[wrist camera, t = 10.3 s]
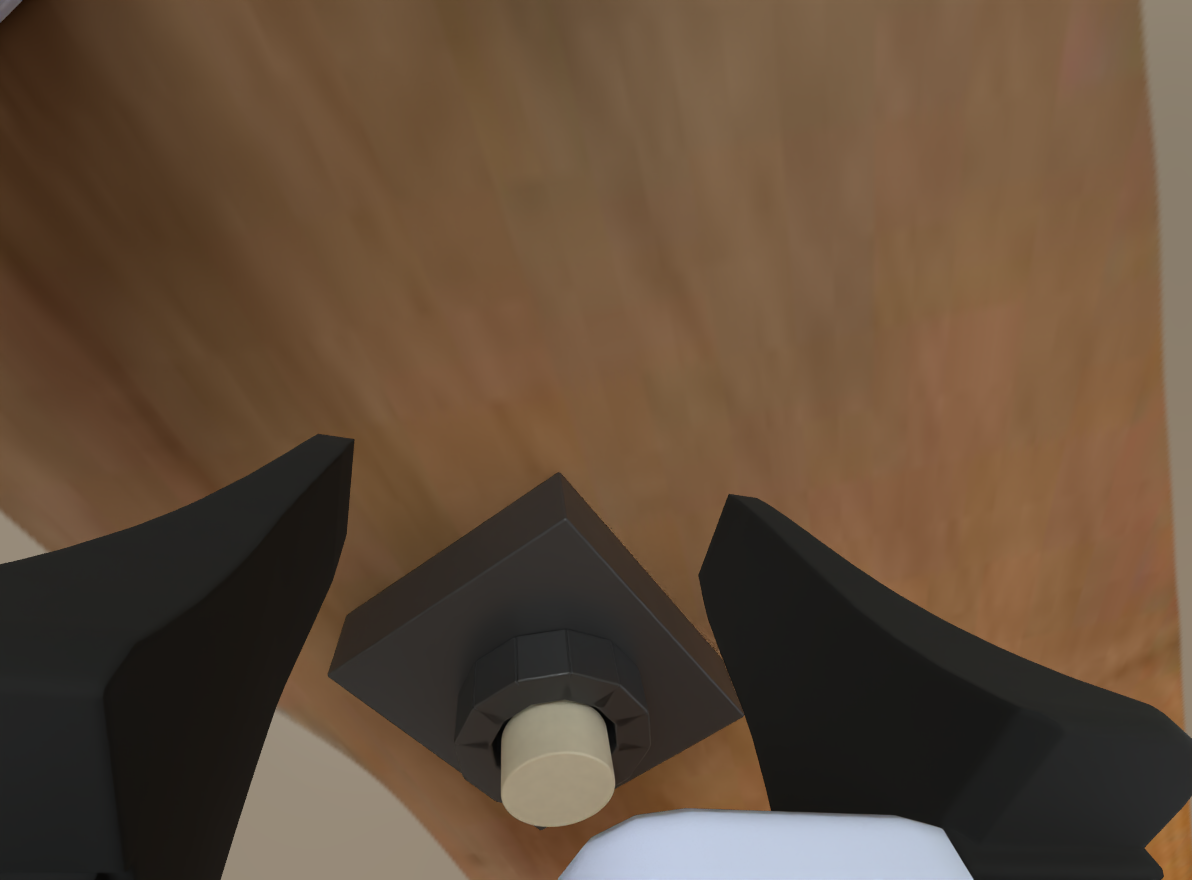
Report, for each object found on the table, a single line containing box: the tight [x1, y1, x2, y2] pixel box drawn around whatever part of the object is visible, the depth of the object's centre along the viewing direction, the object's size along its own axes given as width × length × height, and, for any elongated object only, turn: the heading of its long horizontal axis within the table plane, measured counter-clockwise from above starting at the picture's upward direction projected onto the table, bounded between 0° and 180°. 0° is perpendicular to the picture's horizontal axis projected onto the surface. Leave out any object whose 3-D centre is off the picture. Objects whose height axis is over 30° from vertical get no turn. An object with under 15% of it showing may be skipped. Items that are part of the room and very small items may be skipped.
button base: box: [328, 472, 744, 830], centre depth 24 cm, size 12×10×5 cm
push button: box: [501, 700, 615, 827], centre depth 21 cm, size 4×4×2 cm
